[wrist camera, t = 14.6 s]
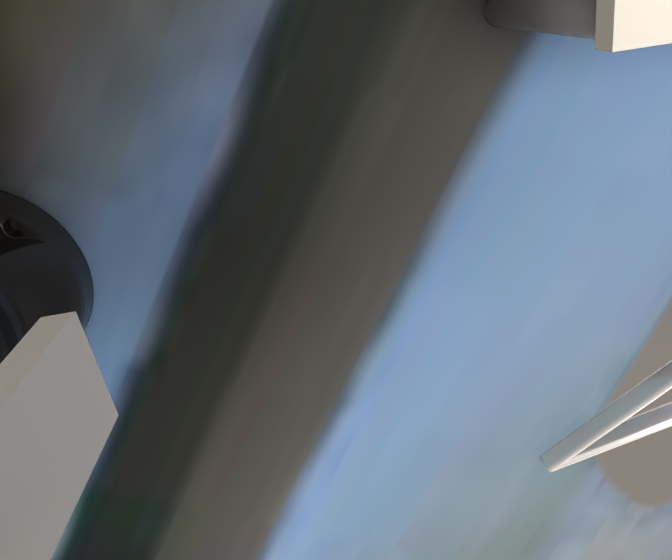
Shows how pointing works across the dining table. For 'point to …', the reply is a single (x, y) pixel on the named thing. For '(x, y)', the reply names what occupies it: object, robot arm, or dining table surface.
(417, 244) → the dining table surface
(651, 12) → the miniature white table
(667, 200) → the dining table surface
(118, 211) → the dining table surface
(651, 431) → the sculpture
